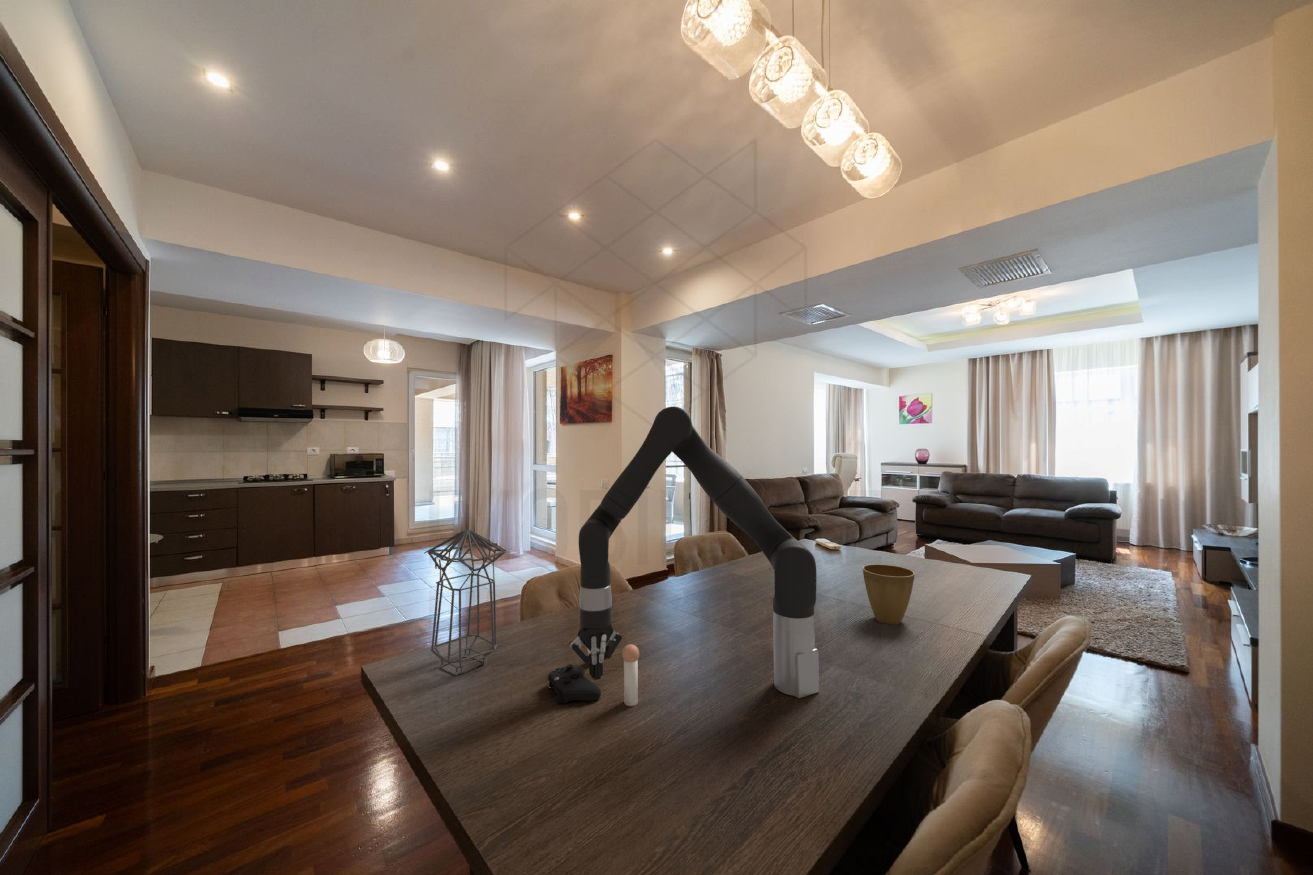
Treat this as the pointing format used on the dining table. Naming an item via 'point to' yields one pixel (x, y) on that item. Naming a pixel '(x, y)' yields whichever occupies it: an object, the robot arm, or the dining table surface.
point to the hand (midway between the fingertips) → (596, 678)
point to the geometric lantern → (481, 542)
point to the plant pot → (888, 591)
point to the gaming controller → (573, 684)
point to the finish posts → (630, 674)
